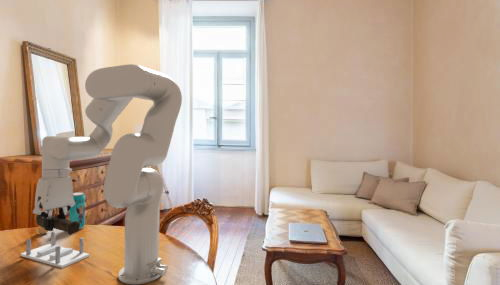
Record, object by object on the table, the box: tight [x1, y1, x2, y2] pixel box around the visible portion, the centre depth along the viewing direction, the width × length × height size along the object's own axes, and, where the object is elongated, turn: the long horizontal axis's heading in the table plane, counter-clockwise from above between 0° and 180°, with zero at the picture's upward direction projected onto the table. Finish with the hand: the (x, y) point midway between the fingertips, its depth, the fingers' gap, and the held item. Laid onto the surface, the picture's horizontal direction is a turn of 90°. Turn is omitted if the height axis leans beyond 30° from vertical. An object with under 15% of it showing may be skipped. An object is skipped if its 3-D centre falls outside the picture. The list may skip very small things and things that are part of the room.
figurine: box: [33, 208, 58, 235], centre depth 113 cm, size 8×6×12 cm
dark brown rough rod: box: [35, 214, 80, 236], centre depth 94 cm, size 19×4×5 cm, turn 65°
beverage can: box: [68, 191, 86, 231], centre depth 120 cm, size 6×6×15 cm
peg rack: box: [20, 230, 90, 269], centre depth 94 cm, size 20×9×6 cm, turn 69°
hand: (55, 227), depth 94 cm, fingers closed on dark brown rough rod, 3 cm apart
